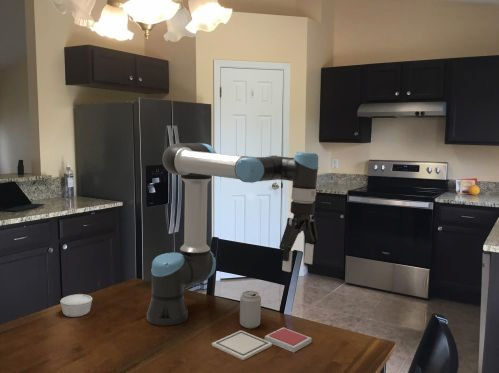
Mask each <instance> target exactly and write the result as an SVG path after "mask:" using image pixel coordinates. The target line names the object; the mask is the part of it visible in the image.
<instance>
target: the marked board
mask: <svg viewBox="0 0 499 373" xmlns="http://www.w3.org/2000/svg"><path fill="white" fill-rule="evenodd" d="M211 346H212V347H214V348H217V349H219V350H220V351H223V352H225V353H227V354H229V355H231V356H234V357H236V358H237V359H239V360H242V361H245V360H247V359H248V358H251V357H252V356H253V357H254V355H257V354H258V353H260V352H262V351H264V350H266V349H268V348H270V347H272V346H273V344H272V343H271V342H268V341H266V340H265V339H264V338H260V337H258V336H256V335H253V334H251V333H248V332H246V331H244V330H238V331H236V332H234V333H232V334H230V335H229V334H228V335H226V336H225V337H223V338H220V339H218V340H215V341H213V342H211Z"/></svg>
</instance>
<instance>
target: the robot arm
mask: <svg viewBox="0 0 499 373" xmlns="http://www.w3.org/2000/svg"><path fill="white" fill-rule="evenodd" d="M161 158H162V159H161V160H162V165H163V167H164V169H165V170H166V171H167V172H169V173H170V174H171V175H176V176H180V179H181V180H182V181H183V182H184V225H183V226H184V232H183V234H184V235H183V236H184V238H183V239H184V240H183V241H184V242H183V244H182V245H181V246H180V248H179V251H180V252H166V253H162V254H159V255H157V256H156V257H155V258H154V259H152V261H151V269H150V270H151V299H150V301H149V302H150V303H149V306H148V309H147V311H146V320H147V322H149V323H150V324H152V325H156V326H165V327H166V326H175V325H179V324H182V323H184V322H185V321H187V320H188V317H189V310H188V307H187V304H186V300H185V298H184V288H185V287H186V286H190V285H193V284H197V283H200V282H204V281H205V280H207V279H209V278H211V276H213V275H214V273H215V271H216V266H217V261H216V257H214V256H215V255H214V253H213V252H212V251H211V248H210V246H209V245H208V244H207V234H208V233H207V231H208V229H207V228H208V227H207V226H208V225H207V222H208V215H207V214H208V183H209V182H210V181H211V180H212V177H219V178H227V179H234V180H239V181H241V182H242V183H250V184H253V183H257V182H264V181H265V182H266V181H267V182H268V181H279V180H281V181H282V180H283V181H289V182H292V188H291V196H290V199H291V200H292V201H291V202H290V210H289V211H290V213H291V214H292V215H293V217H287V219H286V225H285V229H284V232H283V234H282V238H281V240H280V243H279V249H280V250H282V251H283V253H282V266H281V268H282V271H283V272H288V273H291V272H292V261H293V250H292V248H293V246H294V244H295V242H296V240H297V239H298V238H297V237H298V236H299V234H301V232H302V233H303V235H304V237H305V240H306V242H305V247H304V259H303V263H304V264H309V265H313V260H314V258H313V257H314V247H315V245H318V241H319V237H318V232H317V224H316V215H315V207H316V203H315V201H316V196H317V182H318V172H319V155H318V154H317V153H314V152H304V151H297V152H295V153H294V156H293V157H287V156H280V155H279V156H278V155H266V156H247V155H235V154H226V153H225V154H224V153H217V152H216V150H215V149H214V148H213V147H212V146H211V145H210V144H207V143H202V142H201V143H200V142H194V143H191V142H190V143H189V142H188V143H186V142H185V143H182V142H181V143H180V142H179V143H173V144H171V145H169V146H168V147H167V148H166V149H165V151H164V152H163V154H162V157H161Z"/></svg>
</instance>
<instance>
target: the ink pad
mask: <svg viewBox="0 0 499 373" xmlns="http://www.w3.org/2000/svg"><path fill="white" fill-rule="evenodd" d="M264 340H266V341H268V342H271V343H272V345H274V346H277V347H279V348H282V349H284V350H286V351H289V352H291V353H296V352H298V351H299V350H301V349H303V348H304V347H307V346H308V345H309V344H311V343H312V337H310V336H307V335H305V334H302V333H300V332H296V331H294V330H291V329H288V328H286V327H281V328H279V329H277V330H275V331H273V332H270V333H268V334H267V335H264Z"/></svg>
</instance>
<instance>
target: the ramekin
mask: <svg viewBox="0 0 499 373" xmlns="http://www.w3.org/2000/svg"><path fill="white" fill-rule="evenodd" d="M59 302H60V305H61V310H62V313H63V315H64V316H66V317H70V318H71V317H72V318H75V317H76V318H77V317H82V316H85V315H87V314H89V313H90V312H91V308H92V302H93V297H92V296H91V295H89V294H83V293H77V294H76V293H75V294H70V295H67V296H65V297H62V298H61V299H60V301H59Z"/></svg>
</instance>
